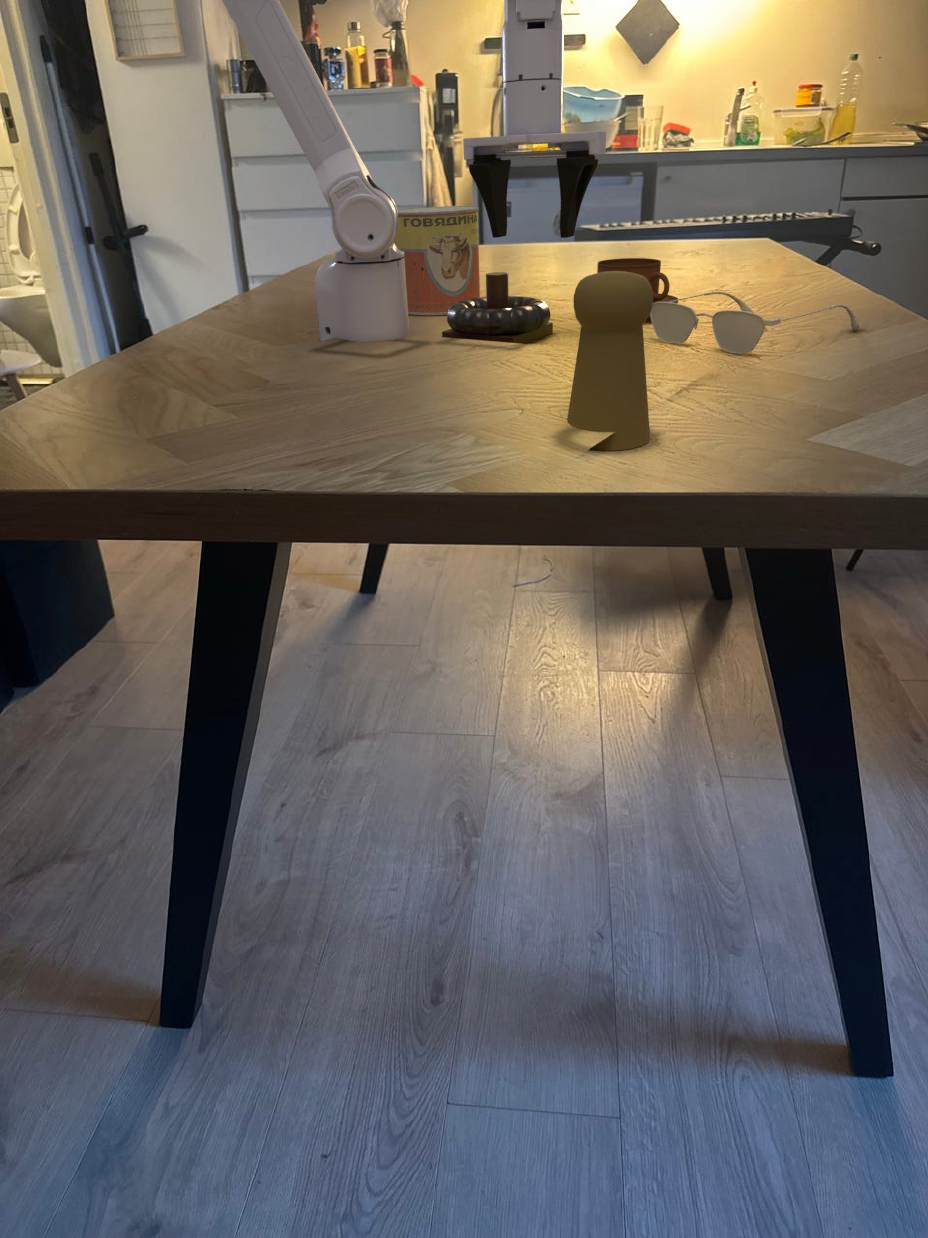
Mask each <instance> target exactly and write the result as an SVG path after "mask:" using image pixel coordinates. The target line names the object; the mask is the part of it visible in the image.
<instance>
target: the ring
mask: <svg viewBox="0 0 928 1238" xmlns="http://www.w3.org/2000/svg"><path fill="white" fill-rule="evenodd" d="M550 319H551V310H550V308H549V306H548V304H547V303H546V301H544V300H543V299H541V298H536V297H532V296H531V297H530V296H522V295H521V296H520V295H519V296H518V295H509V308H502V309H487V300H486V296H480V298H473V299H466V300H463V301H460V302H457V303H454V304H452V305H451V306H450V308H449V309H448V313H447V315H446V322H447V325H448V326H449V327H450V329H454V330H456V331H459V332H463V333H466V334H477V335H507V334H517V333H523V332H530V331H534V330H536V329H538V328H541V327H543V326H545V325H546V324H547V323H548V322H550Z"/></svg>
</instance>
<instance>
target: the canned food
mask: <svg viewBox="0 0 928 1238" xmlns="http://www.w3.org/2000/svg"><path fill="white" fill-rule="evenodd" d="M397 210H398V218H399V222H398V228H397V231H396V234H395V237H394V240H393V243H394V244H395V246H396V247H397V248H398V249H399V250H401V251H403V252H404V257H403V258H404V259H405V274H406V289H407V303H408V316H411V315H412V316H427V317H428V316H447V313H448V309H449V308H450V306H451V305H452V304H454V303H457V302H460V301H463V300H466V299H473V298H481V282H480V277H481V276H480V255H479V254H480V249H479V248H480V246H479V244H480V243H479V212H478V211H479V207H478V206H473V205H471V206H470V205H467V206H466V205H451V206H449V205H448V206H447V205H446V206H428V207H427V206H426V207H425V206H423V207H411V208H401V209H397Z"/></svg>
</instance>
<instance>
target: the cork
mask: <svg viewBox="0 0 928 1238" xmlns="http://www.w3.org/2000/svg"><path fill="white" fill-rule="evenodd" d="M652 306H653V292H652V287H651V285H650V283H649V281H648V280H647V278H645V277H644V276H642V275H639V274H635V273H631V272H625V271H606V272H600V273H597V272H596V273H593V274H588V275H586V276H585V277H583V278H582V279H580V280H579V282H578V283H577V285H576V287H575V290H574V293H573V311H574V316H575V319H576V320H577V321H578V322H577V323H579V325H580V332H579V338H578V346H577V351H576V359H575V365H574V370H573V371H574V372H573V377H572V378H573V380H572V384H571V385H572V386H571V391H570V398H569V405H568V412H567V418H566V420H567V421H566V422H567V424H568V425H569V426H571V427H573V428H575V429H577V430H582V431H588V432H594V433H595V432H596V433H612V434H610V435H609V436H607V437H605V438H604V439H602V440H601V441H599V442H597V443H596V444H594V445H593V446H592V447H590V448H588V450H589V451H601V452H602V451H604V452H605V451H606V452H607V451H608V452H609V451H613V452H614V451H625V450H631V449H636V448H640V447H642V446H644V445H646V444H648V443H649V441H650V440H651V431H650V430H651V429H650V417H649V416H650V415H649V402H648V399H649V398H648V386H647V370H646V369H647V368H646V358H645V357H646V355H645V354H646V353H645V344H644V343H645V342H644V324H645V323H646V321H647V320H648V319H649V318H648V317H649V316H650V313H651V309H652Z"/></svg>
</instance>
